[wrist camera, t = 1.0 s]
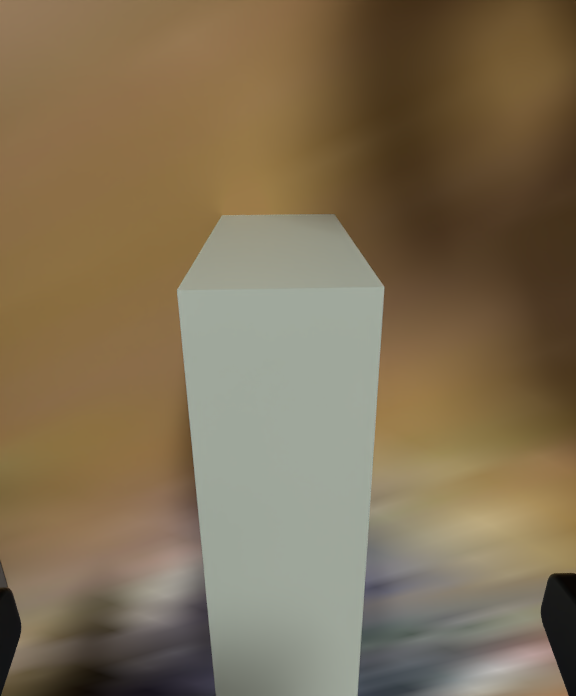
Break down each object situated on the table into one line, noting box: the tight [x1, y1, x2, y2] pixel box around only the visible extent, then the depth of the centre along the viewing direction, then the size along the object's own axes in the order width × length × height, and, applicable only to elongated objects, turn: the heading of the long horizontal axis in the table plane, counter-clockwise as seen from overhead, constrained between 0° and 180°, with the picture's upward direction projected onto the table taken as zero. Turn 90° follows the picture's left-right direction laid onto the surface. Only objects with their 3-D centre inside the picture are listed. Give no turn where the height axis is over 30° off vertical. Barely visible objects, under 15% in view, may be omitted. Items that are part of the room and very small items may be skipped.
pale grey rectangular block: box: [177, 214, 384, 696], centre depth 13 cm, size 10×3×7 cm, turn 1°
